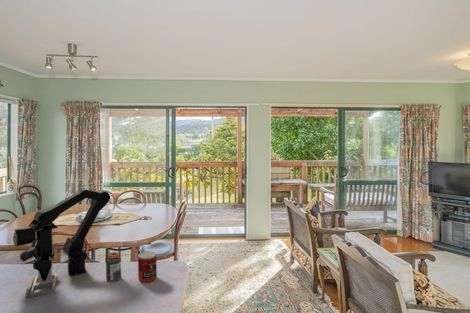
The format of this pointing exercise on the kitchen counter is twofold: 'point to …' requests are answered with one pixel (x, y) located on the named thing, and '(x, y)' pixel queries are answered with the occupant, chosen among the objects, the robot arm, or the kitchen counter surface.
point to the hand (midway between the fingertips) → (45, 276)
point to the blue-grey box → (49, 278)
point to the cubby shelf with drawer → (33, 286)
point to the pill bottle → (113, 267)
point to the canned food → (147, 267)
